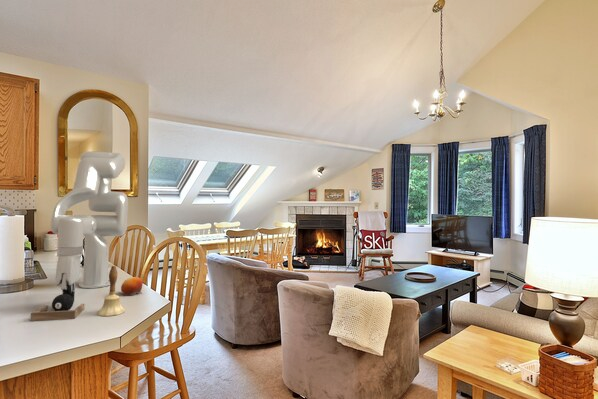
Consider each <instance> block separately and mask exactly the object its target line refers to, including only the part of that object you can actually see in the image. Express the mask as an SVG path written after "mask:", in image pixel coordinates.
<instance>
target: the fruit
mask: <svg viewBox="0 0 598 399" xmlns="http://www.w3.org/2000/svg"><path fill="white" fill-rule="evenodd" d="M142 288H143V280H142V279H141V277H138V276H133V277H132V276H131V277H129V278H127V279H125V280H124V281H123V282H122V284H121V286H120V291H121V292H122V294H124V296H135V295H136V294H138V293H140V294H142V292H141V291H142Z"/></svg>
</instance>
